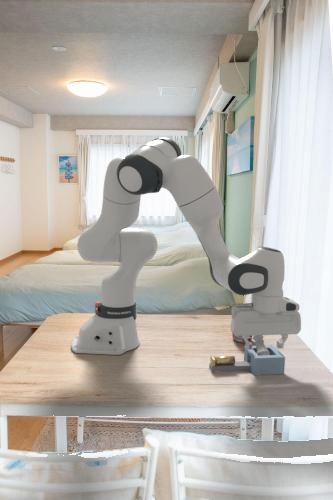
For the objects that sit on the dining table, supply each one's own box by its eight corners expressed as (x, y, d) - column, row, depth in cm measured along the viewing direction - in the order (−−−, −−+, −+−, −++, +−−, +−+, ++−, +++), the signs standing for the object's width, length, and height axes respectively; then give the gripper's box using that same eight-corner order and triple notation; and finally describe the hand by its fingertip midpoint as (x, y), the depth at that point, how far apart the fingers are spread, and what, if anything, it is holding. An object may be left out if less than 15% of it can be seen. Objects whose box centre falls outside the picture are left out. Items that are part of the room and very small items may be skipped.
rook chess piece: (255, 363, 117) (249, 339, 123) (270, 361, 117) (263, 337, 123) (257, 356, 114) (250, 332, 119) (272, 354, 114) (265, 330, 119)
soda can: (251, 336, 142) (252, 304, 140) (253, 344, 135) (255, 310, 133) (231, 335, 143) (232, 303, 141) (232, 343, 136) (233, 309, 134)
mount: (214, 376, 111) (214, 359, 110) (206, 363, 120) (207, 347, 119) (284, 373, 113) (285, 357, 113) (272, 360, 122) (273, 345, 122)
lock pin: (212, 366, 114) (213, 359, 113) (210, 362, 117) (210, 355, 116) (235, 365, 115) (235, 358, 114) (232, 361, 118) (232, 354, 117)
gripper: (235, 306, 110) (233, 354, 112) (305, 305, 113) (301, 351, 115) (228, 300, 116) (227, 345, 118) (295, 299, 119) (292, 343, 121)
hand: (264, 348), depth 116 cm, fingers open, 8 cm apart
